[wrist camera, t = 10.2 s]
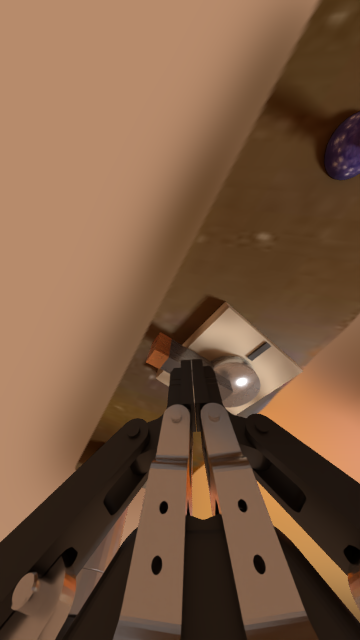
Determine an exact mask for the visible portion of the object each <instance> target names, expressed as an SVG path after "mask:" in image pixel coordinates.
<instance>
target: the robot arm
mask: <svg viewBox="0 0 360 640" xmlns="http://www.w3.org/2000/svg"><path fill="white" fill-rule="evenodd" d="M192 374H193V381H192ZM193 388H194V394H193ZM194 400H195V407H194ZM195 412H196V424H197V432H199V431H201V439H202V450H203V456H204V462H205V468H206V473H207V480H208V485H209V491H210V500H211V508H212V515H213V517H210V518H208V519H205V520H201V519H198V518H196V517H193V516H192V446H193V432H196V424H195ZM147 479H148V480H147ZM256 480H257V481H258V482H259V483H260V484H261V485H262V486H263V487H264V488H265V489H266V490H267V491H268V493H269V494H270V495H271V496H272V497H273V498H274V499H275V500H276V501H277V502H278V503H279V504H280V505H281V506H282V507H283V508H284V509H285V510H286V512H287V513H288V514H289V515H290V516H291V517H292V518H293V519H294V520H295V521H296V522H297V523H298V524H299V525H300V526H301V527H302V528H303V529H304V531H306V533H307V534H308V535H309V536H310V537H311V538H312V539H313V540H314V541H315V542H316V543H317V544H318V545H319V546H320V547H321V548H322V549H323V550H324V552H325V553H326V554H327V555H328V556H329V557H330V558H331V559H332V560H333V561H334V562H335V563H336V564H337V565H338V566H339V567H340V568H341V570H343V572H344V573H345V574H346V575H347V576H348V582H349V587H350V590H351V593H352V595H353V598H354V600H355V602H356V604H357V606H358V608H359V610H360V484H359V483H358V482H357V481H355V480H354V479H353V478H351V477H350V476H348V475H347V474H345V473H344V472H343V471H341V470H340V469H339V468H337V467H336V466H335V465H333V464H332V463H330V462H329V461H328V460H326V459H325V458H323V457H322V456H321V455H319V454H318V453H316V452H315V451H314V450H312V449H311V448H310V447H308V446H307V445H305V444H304V443H302V442H301V441H300V440H298V439H297V438H296V437H294V436H293V435H291V434H290V433H289V432H287V431H286V430H285V429H283V428H282V427H280V426H279V425H278V424H276V423H275V422H273V421H272V420H271V419H269V418H268V417H266V416H264V415H261V414H252V415H250V416H248V418H243V417H239V416H236V415H233V414H232V413H230V412H229V411H228V410H227V409H226V408H225V407H224V405H223V402H222V399H221V395H220V391H219V387H218V383H217V379H216V375H215V371H214V370H213V369H212V368H211V366H203V362H202V359H192V369H191V360H181V368H173V370H172V371H171V373H170V382H169V393H168V405H167V409H166V411H165V413H164V414H163V415H162V416H161V417H160V418H158V419H156V420H153V421H151V422H148V423H146V421H145V420H143V419H139V418H137V419H133V420H130V421H129V422H127V423H126V424H125V425H124V426H123V427H122V428H121V429H120V430H119V431H118V432H117V433H115V434H114V435H113V436H112V437H111V438H110V439H109V440H108V441H107V442H106V443H105V444H104V445H103V446H102V447H101V448H100V449H99V450H97V451H96V452H95V453H94V454H93V455H92V456H91V457H90V458H89V459H88V460H87V461H86V462H85V463H84V464H83V465H82V466H81V467H80V468H78V469H77V470H76V471H75V472H74V473H73V474H72V475H71V476H70V477H69V478H68V479H67V480H66V481H65V482H64V483H63V484H62V485H61V486H59V487H58V488H57V489H56V490H55V491H54V492H53V493H52V494H51V495H50V496H49V497H48V498H47V499H46V500H45V501H44V502H43V503H42V504H40V505H39V506H38V507H37V508H36V509H35V510H34V511H33V512H32V513H31V514H30V515H29V516H28V517H27V518H26V519H25V520H24V521H22V522H21V523H20V524H19V525H18V526H17V527H16V528H15V529H14V530H13V531H12V532H11V533H10V534H9V535H8V536H7V537H6V538H5V539H3V540H2V541H1V542H0V640H360V623H359V621H358V620H357V619H356V618H355V617H354V616H353V614H352V613H351V612H350V611H349V609H348V608H347V607H346V606H345V605H344V604H343V602H342V601H341V600H340V599H339V597H338V596H337V595H336V594H335V593H334V592H333V590H332V589H331V588H330V587H329V585H328V584H327V583H326V582H325V581H324V580H323V578H322V577H321V576H320V575H319V573H318V572H317V571H316V570H315V569H314V568H313V566H312V565H311V564H310V563H309V561H308V560H307V559H306V558H305V557H304V555H303V554H302V553H301V552H300V551H299V549H298V548H297V547H296V546H295V545H294V544H293V542H292V541H291V540H290V539H289V538H287V536H285V534H283V533H282V532H281V531H280V530H279V529H277V528H276V527H274V526H273V524H272V521H271V519H270V516H269V513H268V511H267V508H266V505H265V503H264V500H263V497H262V495H261V492H260V490H259V487H258V484H257V481H256ZM146 481H147V485H146V491H145V495H144V500H143V505H142V510H141V516H140V520H139V525H138V527H137V528H136V529H135V530H134V531H133V532H132V533H131V534H130V535H129V536H128V537H127V538H126V540H125V541H124V542H123V543H122V545H121V547H120V542H121V537H122V533H123V528H124V523H125V519H126V515H127V510H128V505H129V504H130V503H131V501H132V500H133V498H134V497H135V496H136V494H137V493H138V492H139V490H140V489H141V488H142V486H143V485H144V483H145V482H146ZM119 547H120V548H119Z"/></svg>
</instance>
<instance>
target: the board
mask: <svg viewBox="0 0 360 640" xmlns="http://www.w3.org/2000/svg"><path fill="white" fill-rule="evenodd" d="M182 345H183V346H184V347H186V348H188V349H190V350H191V351H193V352H195V353H197V354H198V355H200V356H202V357H204V358H205V359H207V360H209V361H212V360H214V359H216V358H219V357H222V356H238V357H241V358H244V359H246V360H247V361H249V362H250V363H251V365H252V366H253V368H254V370H255V372H256V374H257V376H258V378H259V380H260V384H261V386H260V391H259V393H258V394H257V396H256V397H255V398H254V399H253V400H252V401H250V402H248V403H247V404H244V405H242V406H238V407H230V408H228V407H225V408H226V409H227V410H228V411H229V412H230V413H232V414H233V415H236V414H238V413H239V412H241V411H243V410H244V409H246V408H247V407H249V406H250V405H252V404H253V403H255V402H257V401H258V400H260V399H261V398H263V397H264V396H266V395H267V394H269V393H270V392H272V391H274V390H275V389H277V388H278V387H280V386H281V385H283V384H284V383H286V382H287V381H289V380H291V379H292V378H294V377H295V376H297V375H298V374H300V373H301V372H303V370H302V369H301V368H300V367H299V366H298V365H297V364H296V362H295V361H294V360H292V359H291V358H290V357H289V356H288V355H287V354H285V353H284V352H283V351H282V350H281V349H280V348H279V347H277V346H276V345H275V344H274V343H273V342H272V341H270V340H269V339H268V338H267V337H266V336H265V335H264V334H262V333H261V332H260V331H259V330H258V329H257V328H256V327H254V326H253V325H252V324H251V323H250V322H249V321H247V320H246V319H245V318H244V317H243V316H242V315H241V314H239V313H238V312H237V311H236V310H235V309H234V308H233V307H231V306H230V305H229V304H228V303H227V302H226V301H225V302H224V303H223V304H222V305H221V306H220V307H219V308H218V309H217V310H216V311H215V312H214V313H213V314H212V315H211V316H210V317H209V318H208V319H207V320H206V321H205V322H204V323H203V324H202V325H201V326H200V327H199V328H198V329H197V330H196V331H195V332H194V333H193V334H192V335H191V336H190V337H189V338H188V339H187V340H186V341H185V342H184V343H183V344H182ZM156 379H158V380H159V381H161V382H163V383H164V384H166V385H167V386H169V382H170V374H169V373H167V372H165V371H164V370H162V369H158V371H157V375H156ZM193 394H194V388H193ZM194 402H195V400H194Z"/></svg>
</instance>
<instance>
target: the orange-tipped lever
mask: <svg viewBox="0 0 360 640" xmlns="http://www.w3.org/2000/svg"><path fill="white" fill-rule="evenodd" d="M192 359H202V362H203V366H211V368H212V369H213V370H214V371H215V375H216V379H217V383H218V387H219V391H220V395H221V399H222V402H223V405H224V407H228V408H230V407H238V406H242V405H244V404H247V403H248V402H250V401H252V400H253V399H254V398H255V397H256V396H257V394H258V393H259V391H260V386H261V384H260V380H259V378H258V376H257V374H256V372H255V370H254V368H253V366H252V365H251V363H250V362H249V361H247V360H246V359H244V358H241V357H238V356H222V357H219V358H216V359H214V360H212V361H209V360H207V359H205V358H204V357H202V356H200V355H198V354H197V353H195V352H193V351H191V350H190V349H188V348H186V347H184V346H183V345H181V344H179V343H177V342H176V341H174V340H172V339H171V338H170V337H168V336H166V335H164V334H163V333H161V332H160V333H159V334H158V336H157V337H156V339H155V340H154V341H153V343H152V345H151V348H150V351H149V354H148V357H147V360H146V363H148V364H150V365H152V366H154V367H156V368H158V369H162V370H164V371H165V372H167V373H169V374H170V373H171V371H172V370H173V368H181V360H191V369H192ZM192 381H193V374H192Z"/></svg>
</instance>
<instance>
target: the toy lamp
mask: <svg viewBox="0 0 360 640" xmlns="http://www.w3.org/2000/svg"><path fill="white" fill-rule="evenodd" d="M324 164H325V168H326V170H327V173H328V174H329V175H330V176H331V177H332V178H334V179H337V180H345V179H349V178H352V177H354V176H356V175H358V174H359V173H360V111H359V112H357V113H355V114H353V115H352V116H350V117H349V118H347V119H346V120H345V121H344V122H343V123H342V124H341V125H340V126H339V127H338V128H337V129H336V130H335V132H334V133H333V135H332V137H331V138H330V140H329V142H328V145H327V148H326V153H325V161H324Z"/></svg>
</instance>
